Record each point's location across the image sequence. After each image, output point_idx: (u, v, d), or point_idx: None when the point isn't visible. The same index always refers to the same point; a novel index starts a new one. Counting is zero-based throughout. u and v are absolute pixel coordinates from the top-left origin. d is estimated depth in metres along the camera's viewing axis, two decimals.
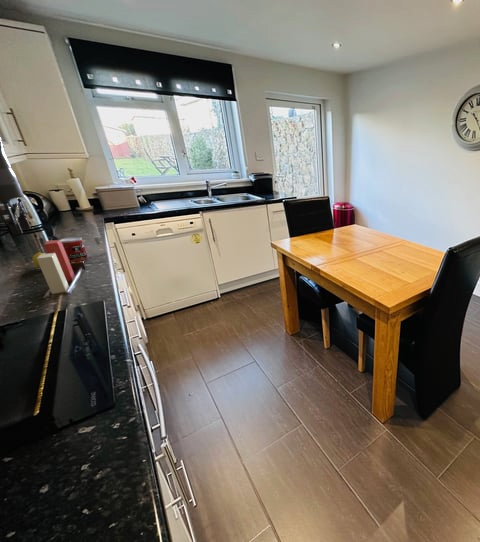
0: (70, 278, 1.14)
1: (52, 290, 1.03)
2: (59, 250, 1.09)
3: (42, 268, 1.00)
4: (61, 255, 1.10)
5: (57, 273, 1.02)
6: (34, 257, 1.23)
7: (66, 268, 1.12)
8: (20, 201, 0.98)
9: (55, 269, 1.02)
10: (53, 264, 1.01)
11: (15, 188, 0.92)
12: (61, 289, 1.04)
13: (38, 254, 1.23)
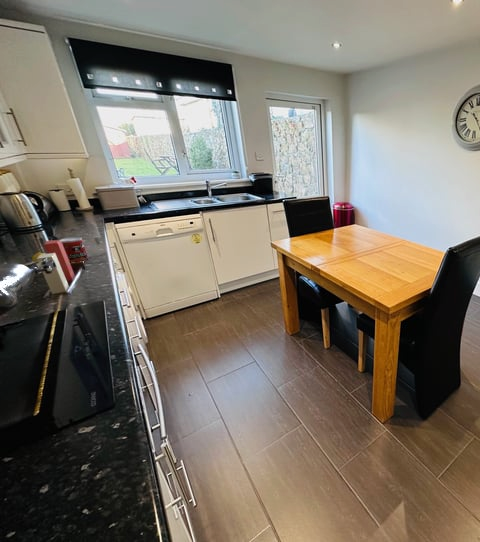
0: (70, 278, 1.14)
1: (52, 290, 1.03)
2: (59, 250, 1.09)
3: None
4: (61, 255, 1.10)
5: (57, 273, 1.02)
6: (34, 257, 1.23)
7: (66, 268, 1.12)
8: None
9: (55, 269, 1.02)
10: None
11: None
12: (61, 289, 1.04)
13: (38, 254, 1.23)
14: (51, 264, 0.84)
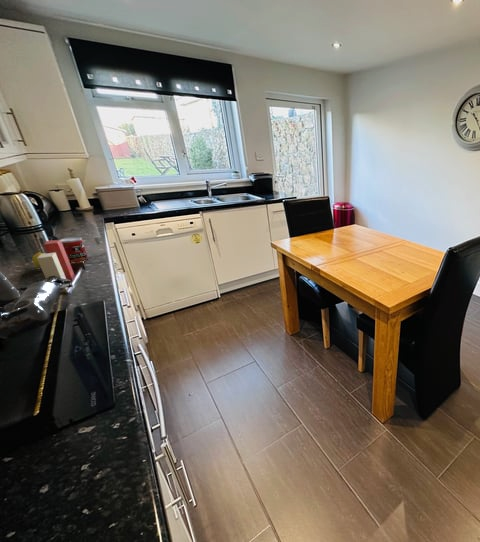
0: (70, 278, 1.14)
1: None
2: (59, 250, 1.09)
3: (42, 268, 1.00)
4: (61, 255, 1.10)
5: (57, 273, 1.03)
6: (34, 257, 1.23)
7: (66, 268, 1.12)
8: (67, 286, 0.99)
9: (56, 269, 1.02)
10: (53, 264, 1.01)
11: None
12: None
13: (38, 254, 1.23)
14: None
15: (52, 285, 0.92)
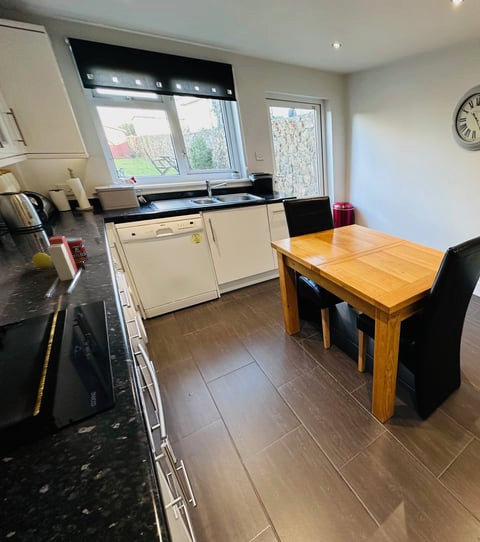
0: None
1: (61, 277, 1.14)
2: None
3: (52, 257, 1.10)
4: None
5: (65, 261, 1.13)
6: (34, 257, 1.23)
7: None
8: None
9: (64, 258, 1.12)
10: (62, 253, 1.11)
11: None
12: (69, 276, 1.15)
13: (38, 254, 1.23)
14: None
15: None
